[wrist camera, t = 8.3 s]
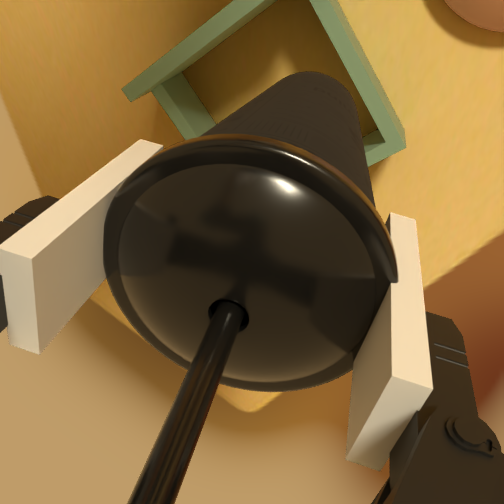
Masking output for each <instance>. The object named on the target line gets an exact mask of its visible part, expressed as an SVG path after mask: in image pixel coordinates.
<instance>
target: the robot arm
mask: <svg viewBox="0 0 504 504" xmlns="http://www.w3.org/2000/svg"><path fill="white" fill-rule="evenodd" d="M161 150H163V145H160V144H156V143H153V142H149V141H146V140H143V139H140V140H138V141H137V142H136V143H134V144H133V145H132V146H130V147H129V148H128V149H126V150H125V151H124V152H122V153H121V154H120V155H118V156H117V157H116V158H114V159H113V160H112V161H110V162H109V163H108V164H106V165H105V166H104V167H102V168H101V169H100V170H98V171H97V172H96V173H94V174H93V175H92V176H91V177H89V178H88V179H87V180H85V181H84V182H83V183H81V184H80V185H79V186H77V187H76V188H75V189H73V190H72V191H71V192H69V193H68V194H67V195H65V196H64V197H63V198H61V199H58V198H54V197H51V196H45V197H42V198H39V199H35V200H33V201H29V202H28V203H26V204H25V205H23V206H22V207H20V208H19V209H17V210H16V211H15V213H14V214H13V213H12V214H11V215H9V216H7V217H6V218H4V220H3V222H2V221H0V332H1V331H2V330H4V329H5V327H7V331H8V339H9V344H10V345H13V346H16V347H19V348H22V349H25V350H28V351H31V352H34V353H37V354H39V355H40V353H41V352H42V351H43V350H44V349H45V348H46V347H47V346H48V344H49V343H50V342H51V341H52V340H53V339H54V337H55V336H56V335H57V334H58V333H59V332H60V330H61V329H62V328H63V327H64V326H65V325H66V324H67V322H68V321H69V320H70V319H71V318H72V317H73V315H74V314H75V313H76V312H77V311H78V310H79V309H80V307H81V306H82V305H83V304H84V303H85V302H86V300H87V299H88V298H89V297H90V296H91V295H92V294H93V292H94V291H95V290H96V289H97V288H98V287H99V285H100V284H101V283H102V282H103V281H104V280H105V278H106V275H105V271H104V265H103V233H104V222H105V218H106V214H107V211H108V208H109V206H110V203H111V201H112V199H113V197H114V196H115V194H116V192H117V190H118V189H119V188H120V186H121V185H122V184H123V182H124V181H125V180H126V179H127V177H128V176H129V175H130V174H131V173H132V172H133V171H134V170H135V169H136V168H138V167H139V166H140V165H141V164H142V163H144V162H145V161H146V160H147V159H149V158H150V157H152V156H153V155H155V154H156V153H158V152H160V151H161ZM385 226H386V228H387V230H388V232H389V235H390V237H391V240H392V243H393V246H394V250H395V253H396V259H397V266H398V275H399V282H398V283H391V284H390V286H389V288H388V291H387V293H386V295H385V297H384V299H383V301H382V304H381V306H380V308H379V310H378V312H377V314H376V316H375V318H374V321H373V323H372V325H371V327H370V329H369V331H368V333H367V335H366V337H365V340H364V342H363V344H362V346H361V348H360V350H359V352H358V354H357V356H356V358H355V360H354V363H353V375H352V376H353V377H352V388H351V399H350V400H351V401H350V411H349V423H348V435H347V446H346V460H348V461H351V462H354V463H357V464H360V465H363V466H366V467H369V468H371V469H375V470H377V471H380V470H381V469H382V468H383V466H384V465H385V463H386V461H387V460H388V458H389V457H390V477H389V478H388V480H387V481H386V483H385V484H384V486H383V487H382V489H381V490H380V491H379V493H378V494H377V496H376V498H375V499H374V500H373V502H372V503H371V504H504V454H503V453H502V452H501V446H500V444H499V441H498V440H497V437H496V435H495V433H494V432H493V431H492V430H491V429H490V428H489V426H488V425H487V424H486V423H485V422H484V421H483V420H481V419H480V418H479V417H478V412H477V407H476V402H475V397H474V392H473V387H472V381H471V376H470V371H469V369H468V361H467V356H466V355H465V353H466V351H465V346H464V341H463V336H462V334H461V333H460V331H459V330H458V328H457V327H456V325H455V324H454V322H453V321H452V319H449V318H446V317H442V316H439V315H436V314H433V313H429V312H426V311H425V306H424V296H423V286H422V276H421V267H420V257H419V247H418V238H417V228H416V220H415V219H412V218H408V217H405V216H401V215H398V214H395V213H391V212H390V214H389V217H388V219H387V221H386V224H385Z"/></svg>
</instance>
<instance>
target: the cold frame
mask: <svg viewBox="0 0 504 504" xmlns="http://www.w3.org/2000/svg"><path fill="white" fill-rule="evenodd" d="M276 1H277V0H233V1H232V2H231V3H230V4H228V5H227V6H226V7H224V8H223V9H222V10H221V11H219V12H218V13H217V14H216V15H214V16H213V17H212V18H211V19H209V20H208V21H207V22H206V23H204V24H203V25H202V26H200V27H199V28H198V29H197V30H195V31H194V32H193V33H192V34H190V35H189V36H188V37H187V38H185V39H184V40H183V41H182V42H180V43H179V44H178V45H176V46H175V47H174V48H173V49H171V50H170V51H169V52H168V53H166V54H165V55H164V56H163V57H161V58H160V59H159V60H158V61H156V62H155V63H154V64H152V65H151V66H150V67H149V68H147V69H146V70H145V71H144V72H142V73H141V74H140V75H139V76H137V77H136V78H135V79H134V80H132V81H131V82H130V83H128V84H127V85H126V86H125V87H123V88H122V91H123V92H124V94H125V95H126V96H127V98H128V99H129V101H130V102H132V101H134V100H136V99H138V98H139V97H141V96H143V95H145V94H147V93H148V92H150V91H151V92H152V93H153V94H154V96H155V97H156V99H157V100H158V102H159V103H160V104H161V106H162V107H163V109H164V110H165V112H166V113H167V114H168V116H169V117H170V119H171V120H172V122H173V123H174V124H175V126H176V127H177V129H178V130H179V132H180V133H181V135H182V136H183V137H184V139H185V140H188V139H191V138H196V137H199V136H201V135H202V134H204V133H205V132H207V131H208V130H210V129H211V128H212V127H214V126H215V125H216V123H215V122H214V120H213V119H212V117H211V116H210V114H209V113H208V111H207V110H206V108H205V107H204V105H203V104H202V102H201V101H200V99H199V98H198V96H197V95H196V93H195V92H194V90H193V89H192V87H191V86H190V84H189V83H188V81H187V80H186V78H185V77H184V75H183V74H182V72H183V71H184V70H185V69H187V68H188V67H189V66H191V65H192V64H193V63H195V62H196V61H197V60H199V59H200V58H201V57H203V56H204V55H205V54H207V53H208V52H209V51H211V50H212V49H213V48H215V47H216V46H217V45H219V44H220V43H221V42H223V41H224V40H225V39H227V38H228V37H229V36H231V35H232V34H233V33H235V32H236V31H237V30H239V29H240V28H241V27H242V26H244V25H245V24H246V23H248V22H249V21H250V20H252V19H253V18H254V17H256V16H257V15H258V14H260V13H261V12H262V11H264V10H265V9H266V8H268V7H269V6H270V5H272V4H273V3H274V2H276ZM309 1H310V2H311V4H312V6H313V8H314V10H315V12H316V14H317V15H318V17H319V19H320V21H321V23H322V25H323V27H324V28H325V30H326V32H327V34H328V36H329V38H330V40H331V41H332V43H333V45H334V47H335V49H336V51H337V53H338V54H339V56H340V58H341V60H342V62H343V64H344V66H345V67H346V69H347V71H348V73H349V75H350V77H351V79H352V80H353V82H354V84H355V86H356V88H357V90H358V92H359V93H360V95H361V97H362V99H363V101H364V103H365V105H366V106H367V108H368V110H369V112H370V114H371V116H372V118H373V119H374V121H375V123H376V125H377V127H378V129H377V130H376V131H374V132H372V133H370V134H368V135H366V136H364V137H362V139H363V144H364V150H365V155H366V160H367V165H368V167H369V166H371V165H373V164H375V163H377V162H379V161H381V160H383V159H385V158H387V157H389V156H391V155H393V154H395V153H397V152H399V151H401V150H403V149H405V148H406V141H405V132H404V128H403V126H402V124H401V122H400V120H399V119H398V117H397V115H396V113H395V111H394V109H393V107H392V105H391V103H390V101H389V99H388V97H387V95H386V93H385V92H384V90H383V88H382V86H381V84H380V82H379V80H378V78H377V76H376V74H375V72H374V70H373V68H372V66H371V65H370V63H369V61H368V59H367V57H366V55H365V53H364V51H363V49H362V47H361V45H360V43H359V41H358V39H357V38H356V36H355V34H354V32H353V30H352V28H351V26H350V24H349V22H348V20H347V18H346V16H345V14H344V12H343V10H342V9H341V7H340V5H339V3H338V1H337V0H309Z"/></svg>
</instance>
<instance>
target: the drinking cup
mask: <svg viewBox="0 0 504 504" xmlns="http://www.w3.org/2000/svg"><path fill="white" fill-rule="evenodd" d="M103 265H104V271H105V275H106V278H107V281H108V284H109V287H110V289H111V292H112V294H113V296H114V298H115V300H116V302H117V304H118V306H119V307H120V309H121V311H122V312H123V314H124V315H125V317H126V318H127V319H128V321H129V322H130V323H131V325H132V326H133V327H134V328H135V329H136V331H137V332H138V333H139V334H140V335H141V336H142V337H143V338H144V339H145V340H146V341H147V342H148V343H149V344H150V345H151V346H153V347H154V348H155V349H156V350H157V351H159V352H160V353H161V354H163V355H164V356H165V357H167V358H168V359H170V360H171V361H173V362H174V363H176V364H177V365H179V366H181V367H183V368H184V369H186V370H188V371H187V373H186V376H185V378H184V380H183V382H182V384H181V387H180V389H179V391H178V394H177V396H176V398H175V400H174V402H173V404H172V406H171V409H170V411H169V413H168V415H167V417H166V420H165V422H164V424H163V426H162V428H161V431H160V433H159V435H158V437H157V439H156V441H155V444H154V446H153V448H152V450H151V452H150V455H149V457H148V459H147V461H146V463H145V466H144V468H143V470H142V472H141V474H140V476H139V479H138V481H137V483H136V485H135V487H134V490H133V492H132V494H131V496H130V498H129V501H128V503H127V504H175V501H176V498H177V496H178V493H179V490H180V487H181V485H182V482H183V479H184V477H185V474H186V471H187V468H188V466H189V463H190V461H191V458H192V455H193V452H194V450H195V447H196V444H197V441H198V439H199V436H200V434H201V431H202V428H203V425H204V423H205V420H206V417H207V414H208V412H209V409H210V407H211V404H212V401H213V398H214V396H215V393H216V390H217V388H218V385H219V384H223V385H226V386H230V387H234V388H239V389H244V390H251V391H261V392H286V391H296V390H302V389H307V388H311V387H315V386H319V385H322V384H324V383H328V382H330V381H332V380H334V379H337V378H339V377H341V376H343V375H344V374H346V373H348V372H350V371H351V370H353V363H354V360H355V358H356V356H357V354H358V352H359V350H360V348H361V346H362V344H363V342H364V340H365V337H366V335H367V333H368V331H369V329H370V327H371V325H372V323H373V321H374V318H375V316H376V314H377V312H378V310H379V308H380V306H381V304H382V301H383V299H384V297H385V295H386V293H387V291H388V288H389V286H390V284H391V283H398V282H399V275H398V266H397V259H396V253H395V250H394V246H393V243H392V240H391V237H390V235H389V232H388V230H387V228H386V226H385V224H384V222H383V220H382V218H381V216H380V215H379V213H378V212H377V210H376V208H375V202H374V197H373V192H372V187H371V181H370V176H369V171H368V165H367V160H366V155H365V150H364V144H363V139H362V134H361V129H360V123H359V118H358V113H357V108H356V105H355V102H354V100H353V98H352V96H351V95H350V93H349V92H348V90H347V89H346V88H345V87H344V86H343V85H342V84H341V83H340V82H338V81H337V80H335V79H334V78H332V77H330V76H328V75H325V74H322V73H318V72H299V73H295V74H292V75H289V76H287V77H285V78H283V79H282V80H280V81H279V82H277V83H276V84H274V85H273V86H271V87H270V88H269V89H267V90H266V91H264V92H263V93H261V94H260V95H258V96H257V97H256V98H254V99H253V100H251V101H250V102H248V103H247V104H245V105H244V106H243V107H241V108H240V109H238V110H237V111H235V112H234V113H233V114H231V115H230V116H228V117H227V118H225V119H224V120H222V121H221V122H220V123H218V124H217V125H215V126H214V127H212V128H211V129H210V130H208V131H207V132H205V133H204V134H202V135H201V136H199V137H196V138H191V139H188V140H185V141H182V142H179V143H176V144H174V145H172V146H169V147H167V148H165V149H163V150H161V151H160V152H158V153H156V154H155V155H153V156H152V157H150V158H149V159H147V160H146V161H145V162H144V163H142V164H141V165H140V166H139V167H138V168H136V169H135V170H134V171H133V172H132V173H131V174H130V175H129V176H128V177H127V179H126V180H125V181H124V182H123V184H122V185H121V186H120V188H119V189H118V190H117V192H116V194H115V196H114V197H113V199H112V201H111V203H110V206H109V208H108V211H107V214H106V218H105V222H104V233H103Z"/></svg>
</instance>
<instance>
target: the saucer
mask: <svg viewBox="0 0 504 504" xmlns="http://www.w3.org/2000/svg"><path fill="white" fill-rule="evenodd" d="M444 1H445V2H446V4H447V5H448V6H449V7H450V8H451V9H452V10H453V11H454V12H455V13H456V14H457V15H459V16H460V17H462V18H463V19H464V20H466V21H467V22H469V23H471V24H473V25H476V26H478V27H481V28H484V29H487V30H491V31H497V32H504V0H444Z"/></svg>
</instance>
